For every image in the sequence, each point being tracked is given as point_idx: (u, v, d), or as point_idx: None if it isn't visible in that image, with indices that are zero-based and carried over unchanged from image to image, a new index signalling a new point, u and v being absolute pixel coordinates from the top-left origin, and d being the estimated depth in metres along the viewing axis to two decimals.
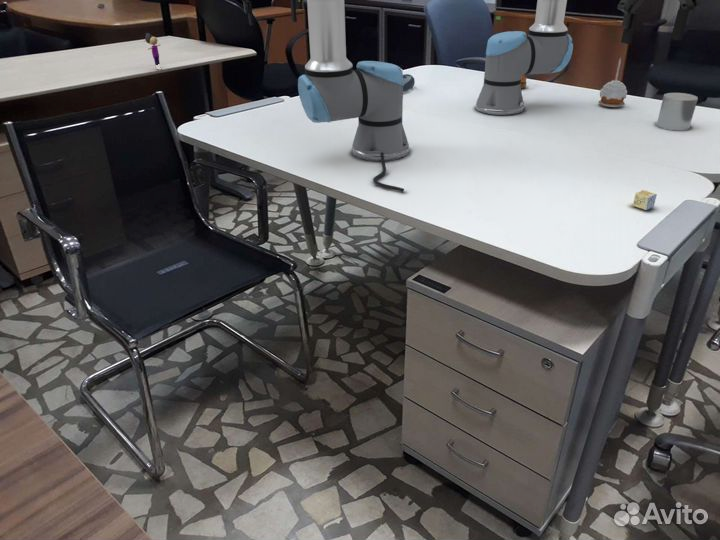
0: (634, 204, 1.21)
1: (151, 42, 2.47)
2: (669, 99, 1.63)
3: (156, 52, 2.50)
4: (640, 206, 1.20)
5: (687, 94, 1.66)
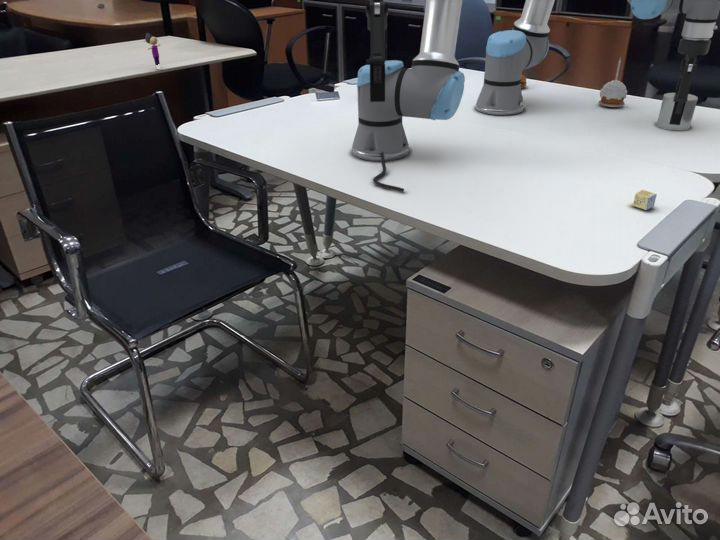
0: (634, 204, 1.21)
1: (151, 42, 2.47)
2: (669, 99, 1.63)
3: (156, 52, 2.50)
4: (640, 206, 1.20)
5: None
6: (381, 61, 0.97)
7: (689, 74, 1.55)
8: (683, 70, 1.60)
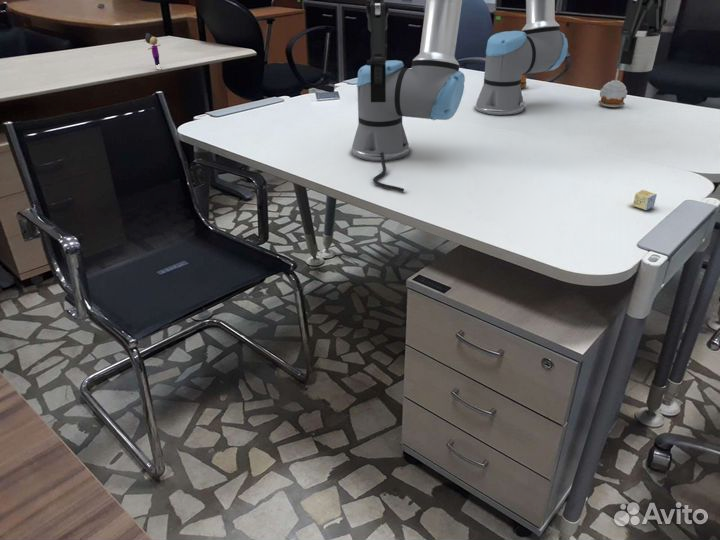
0: (634, 204, 1.21)
1: (151, 42, 2.47)
2: None
3: (156, 52, 2.50)
4: (640, 206, 1.20)
5: (654, 33, 1.47)
6: (382, 62, 0.97)
7: (635, 4, 1.39)
8: None
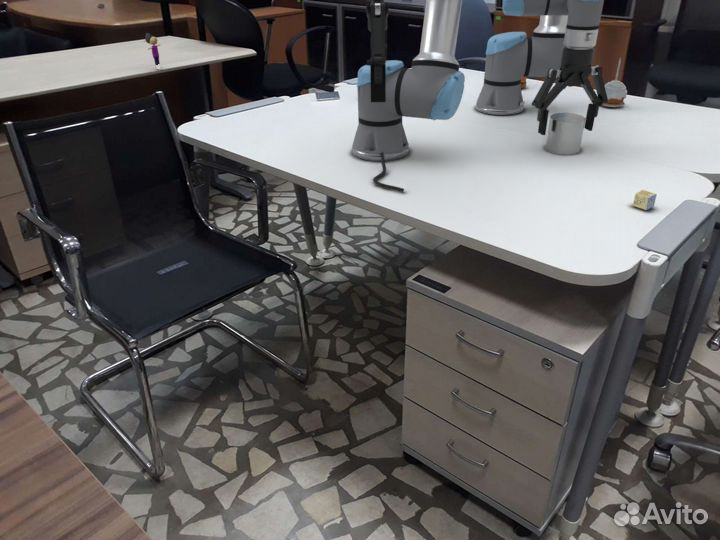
0: (634, 204, 1.21)
1: (151, 42, 2.47)
2: (550, 116, 1.51)
3: (156, 52, 2.50)
4: (640, 206, 1.20)
5: (581, 118, 1.48)
6: (382, 62, 0.97)
7: (548, 79, 1.43)
8: None
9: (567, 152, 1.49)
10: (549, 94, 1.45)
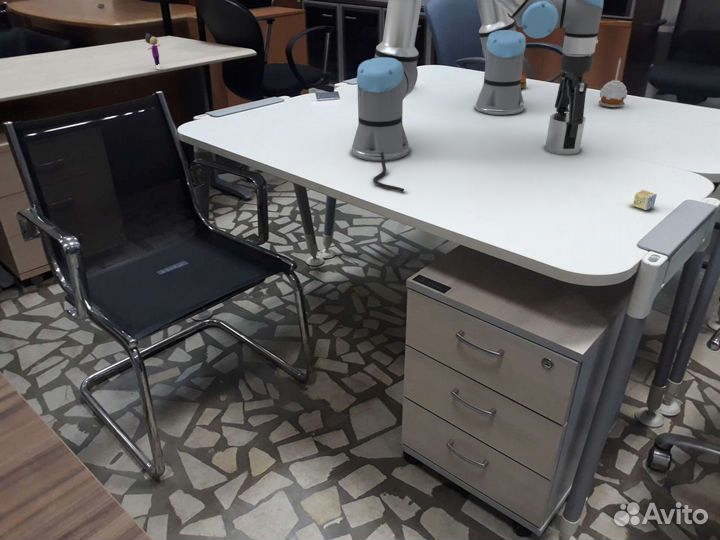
0: (634, 204, 1.21)
1: (151, 42, 2.47)
2: (550, 116, 1.51)
3: (156, 52, 2.50)
4: (640, 206, 1.20)
5: None
6: (580, 123, 1.42)
7: None
8: None
9: (567, 152, 1.49)
10: None
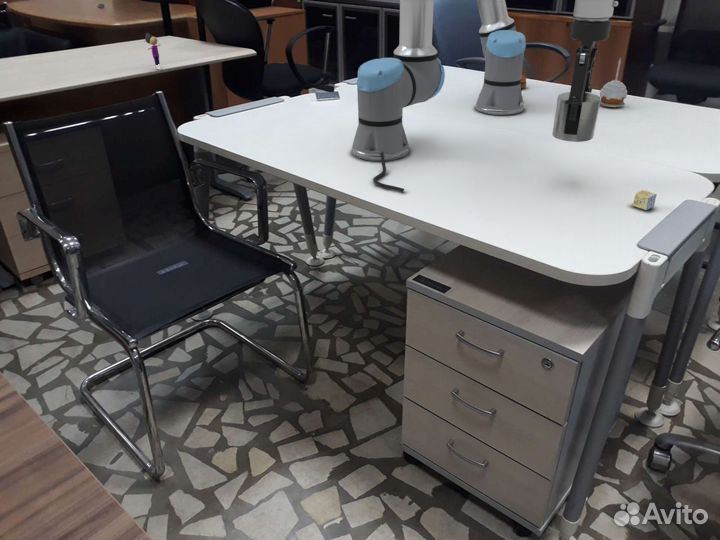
0: (634, 204, 1.21)
1: (151, 42, 2.47)
2: None
3: (156, 52, 2.50)
4: (640, 206, 1.20)
5: (594, 99, 1.22)
6: (577, 102, 1.17)
7: None
8: None
9: (570, 138, 1.25)
10: None
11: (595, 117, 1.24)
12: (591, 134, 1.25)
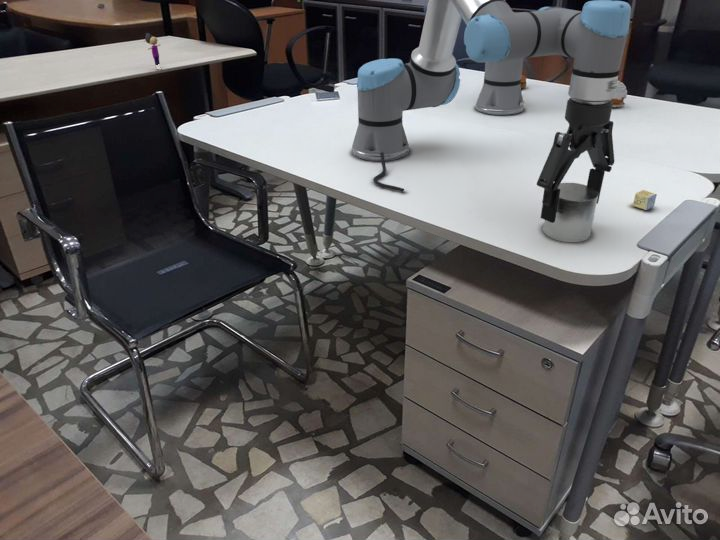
0: (634, 204, 1.21)
1: (151, 42, 2.47)
2: None
3: (156, 52, 2.50)
4: (640, 206, 1.20)
5: (585, 198, 1.05)
6: (545, 187, 1.01)
7: None
8: None
9: (552, 235, 1.10)
10: None
11: (584, 218, 1.06)
12: (579, 236, 1.08)
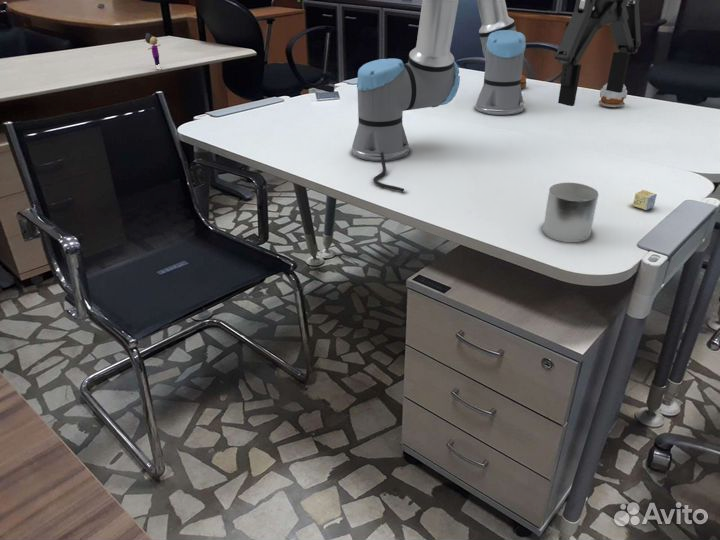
0: (634, 204, 1.21)
1: (151, 42, 2.47)
2: None
3: (156, 52, 2.50)
4: (640, 206, 1.20)
5: (585, 198, 1.05)
6: (564, 60, 0.90)
7: None
8: None
9: (552, 235, 1.10)
10: None
11: (584, 218, 1.06)
12: (579, 236, 1.08)
